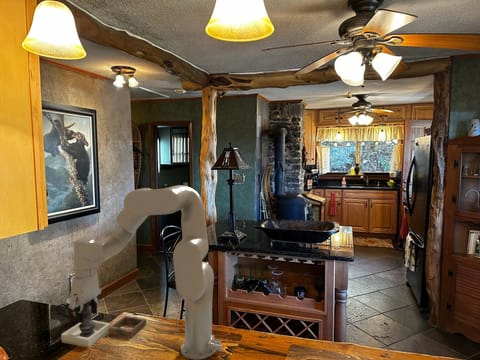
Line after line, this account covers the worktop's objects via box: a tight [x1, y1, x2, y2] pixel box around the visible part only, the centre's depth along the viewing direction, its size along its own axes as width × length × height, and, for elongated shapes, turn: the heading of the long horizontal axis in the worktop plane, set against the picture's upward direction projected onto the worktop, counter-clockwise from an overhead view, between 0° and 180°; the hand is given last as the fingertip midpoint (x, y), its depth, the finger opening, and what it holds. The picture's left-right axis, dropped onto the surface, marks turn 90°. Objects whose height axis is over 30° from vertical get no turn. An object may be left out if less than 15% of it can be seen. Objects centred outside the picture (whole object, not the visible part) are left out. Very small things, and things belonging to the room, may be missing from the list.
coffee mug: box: [55, 296, 90, 328], centre depth 134 cm, size 12×9×10 cm
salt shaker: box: [79, 304, 96, 337], centre depth 123 cm, size 6×6×12 cm
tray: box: [60, 319, 112, 349], centre depth 124 cm, size 12×12×3 cm
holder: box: [108, 315, 147, 339], centre depth 129 cm, size 10×10×2 cm
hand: (86, 317), depth 123 cm, fingers open, 6 cm apart
